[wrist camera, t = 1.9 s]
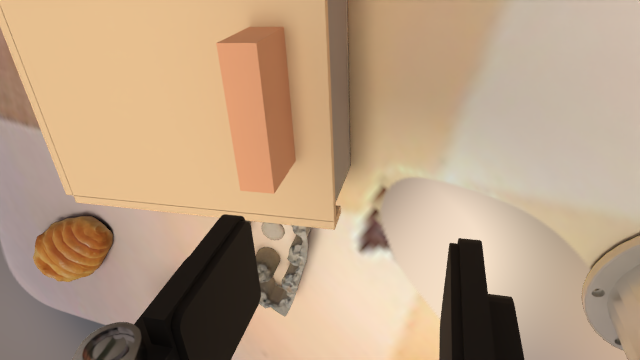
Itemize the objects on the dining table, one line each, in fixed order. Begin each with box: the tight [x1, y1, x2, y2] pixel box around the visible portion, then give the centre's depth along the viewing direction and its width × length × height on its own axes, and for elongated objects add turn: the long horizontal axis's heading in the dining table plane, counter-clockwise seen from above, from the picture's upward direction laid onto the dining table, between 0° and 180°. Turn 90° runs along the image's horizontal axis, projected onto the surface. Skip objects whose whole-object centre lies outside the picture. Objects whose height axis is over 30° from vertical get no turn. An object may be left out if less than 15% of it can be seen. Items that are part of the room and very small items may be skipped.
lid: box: [0, 0, 341, 230], centre depth 26 cm, size 21×18×6 cm
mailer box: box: [328, 0, 351, 201], centre depth 30 cm, size 20×16×6 cm
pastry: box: [33, 216, 113, 282], centre depth 46 cm, size 9×7×4 cm
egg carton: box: [245, 220, 311, 316], centre depth 39 cm, size 11×8×4 cm
